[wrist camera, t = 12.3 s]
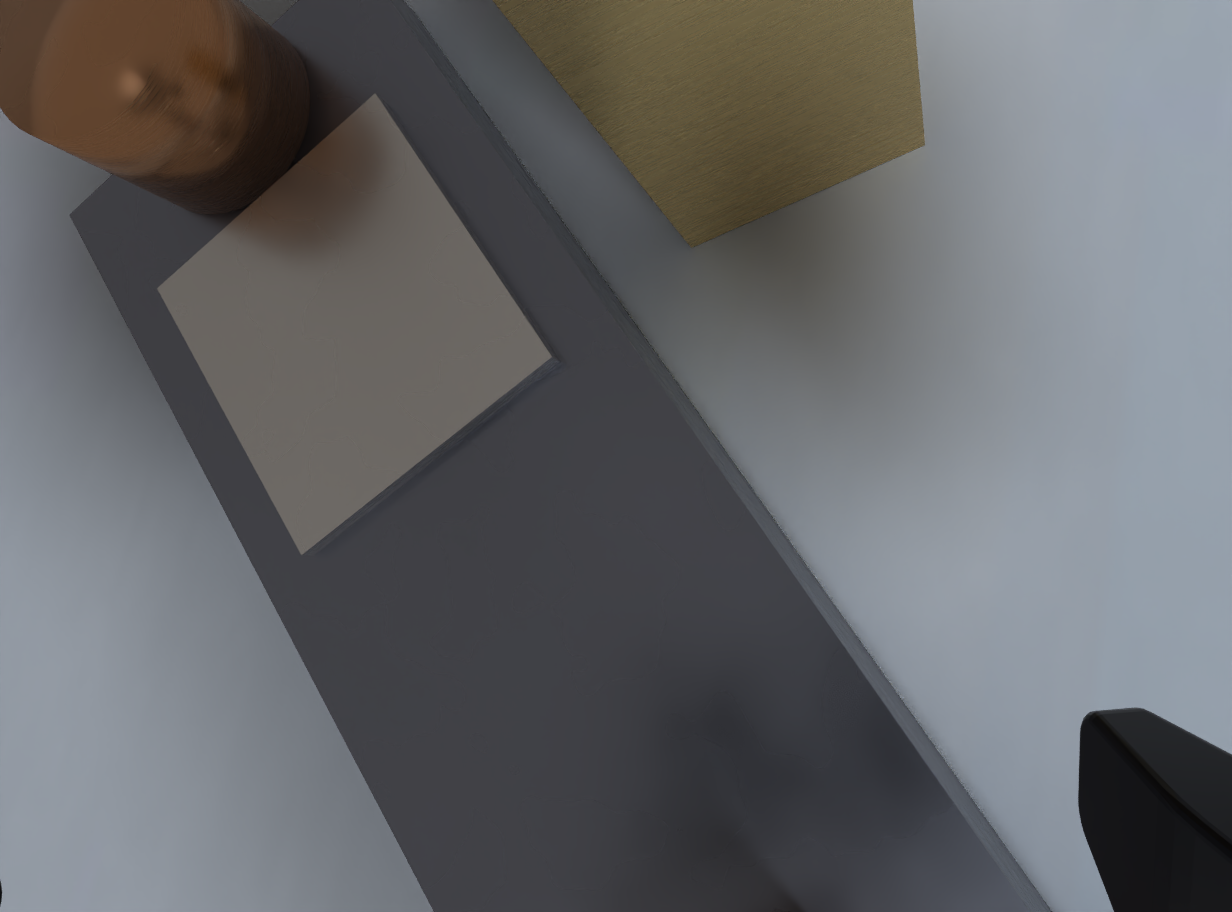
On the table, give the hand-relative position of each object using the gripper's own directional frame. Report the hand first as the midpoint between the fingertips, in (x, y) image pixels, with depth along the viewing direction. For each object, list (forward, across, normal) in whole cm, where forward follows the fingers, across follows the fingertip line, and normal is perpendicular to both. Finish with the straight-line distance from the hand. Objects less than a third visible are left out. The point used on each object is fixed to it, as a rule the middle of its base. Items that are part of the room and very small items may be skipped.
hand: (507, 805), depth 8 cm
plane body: (+13, +2, +4) cm, 13 cm away
